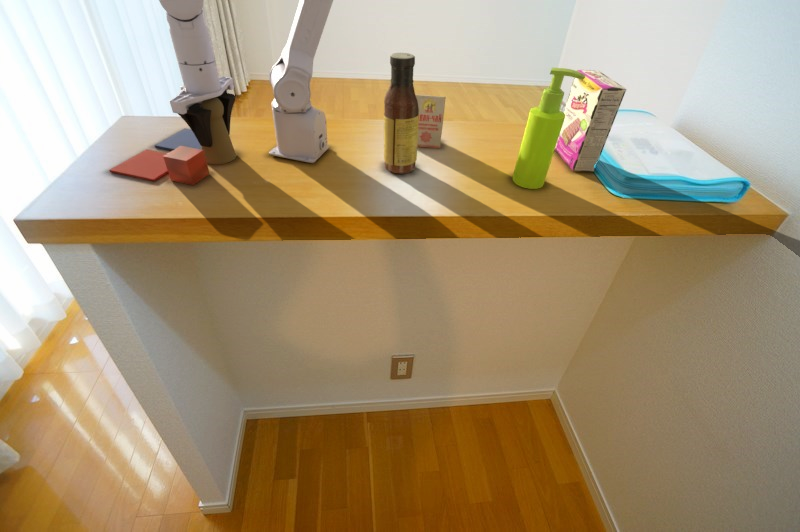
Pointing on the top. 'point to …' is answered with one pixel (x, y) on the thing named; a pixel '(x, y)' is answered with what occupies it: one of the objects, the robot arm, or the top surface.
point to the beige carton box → (430, 120)
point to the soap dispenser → (542, 133)
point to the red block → (186, 165)
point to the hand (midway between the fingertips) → (215, 139)
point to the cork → (218, 135)
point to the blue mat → (180, 141)
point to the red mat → (143, 166)
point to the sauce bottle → (401, 116)
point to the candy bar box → (588, 119)
